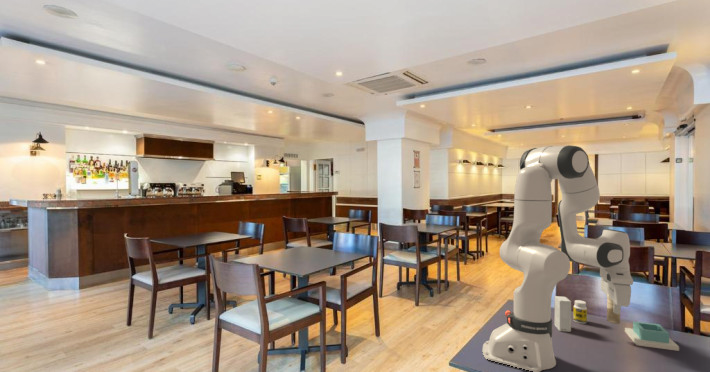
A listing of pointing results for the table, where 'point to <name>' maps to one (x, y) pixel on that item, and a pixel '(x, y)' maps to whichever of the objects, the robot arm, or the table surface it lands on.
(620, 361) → the table surface
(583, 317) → the supplement bottle
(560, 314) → the skincare box
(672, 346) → the socket block
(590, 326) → the table surface
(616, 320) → the maple peg
